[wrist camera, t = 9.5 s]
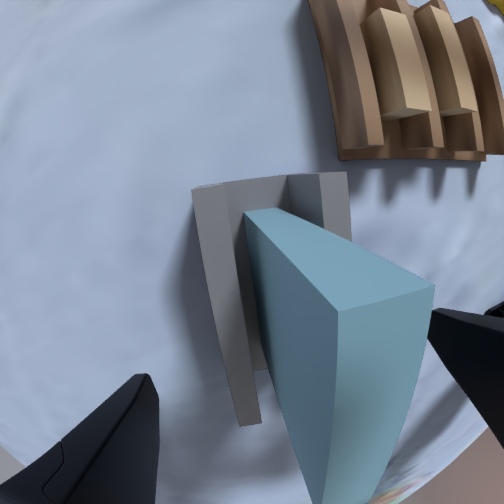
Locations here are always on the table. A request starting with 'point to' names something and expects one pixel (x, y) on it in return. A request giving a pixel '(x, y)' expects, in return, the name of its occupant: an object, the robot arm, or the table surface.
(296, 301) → the tall sheet
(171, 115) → the table surface
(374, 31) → the offcut small
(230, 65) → the table surface
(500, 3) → the decorative plaque
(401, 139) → the rack
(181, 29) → the table surface
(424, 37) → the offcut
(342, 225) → the holder
